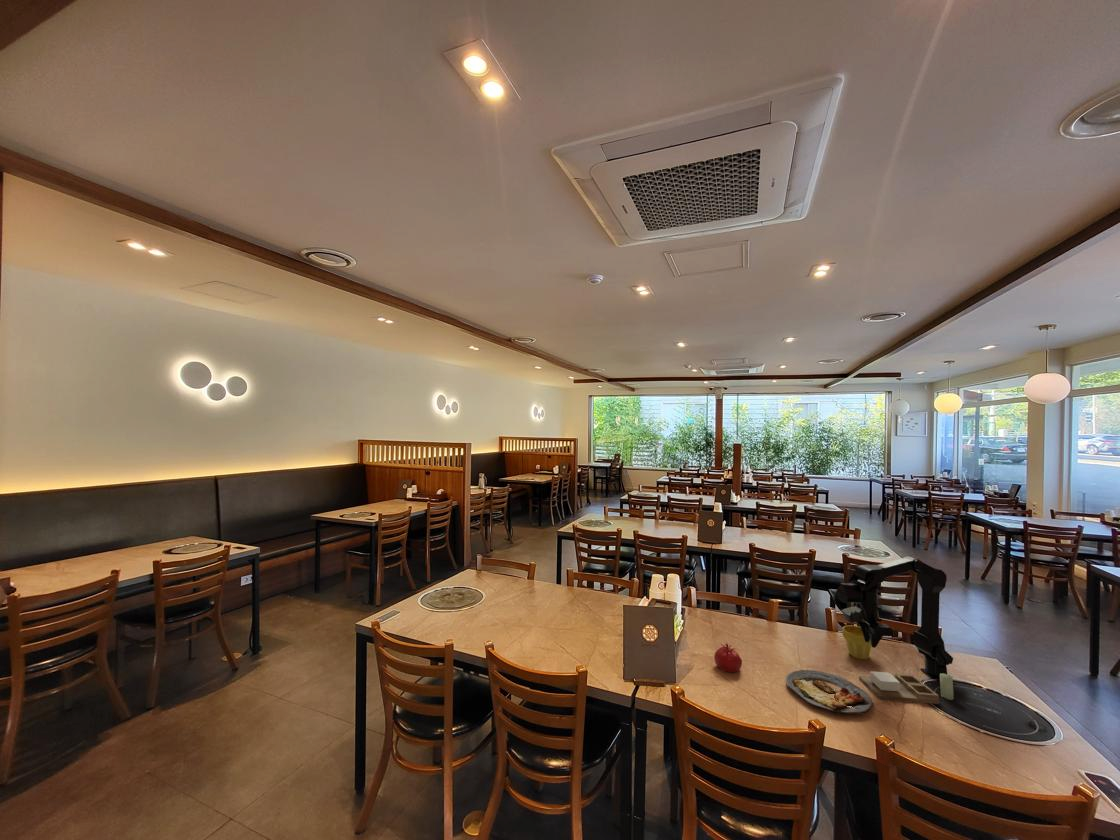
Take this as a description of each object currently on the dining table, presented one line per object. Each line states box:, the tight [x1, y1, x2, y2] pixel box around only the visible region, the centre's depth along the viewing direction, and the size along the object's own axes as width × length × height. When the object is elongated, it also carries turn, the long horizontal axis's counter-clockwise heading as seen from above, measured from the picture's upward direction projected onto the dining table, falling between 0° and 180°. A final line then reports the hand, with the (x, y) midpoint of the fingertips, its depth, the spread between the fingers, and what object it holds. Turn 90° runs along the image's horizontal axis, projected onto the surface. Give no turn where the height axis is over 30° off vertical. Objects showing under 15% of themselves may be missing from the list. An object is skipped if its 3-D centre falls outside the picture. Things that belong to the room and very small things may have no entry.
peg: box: [939, 673, 955, 701], centre depth 141 cm, size 3×3×7 cm
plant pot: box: [842, 624, 872, 660], centre depth 169 cm, size 10×10×10 cm
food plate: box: [785, 669, 874, 714], centre depth 143 cm, size 25×23×4 cm
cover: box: [869, 671, 900, 691], centre depth 145 cm, size 6×6×3 cm
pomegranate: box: [713, 642, 743, 673], centre depth 160 cm, size 10×10×9 cm
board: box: [858, 673, 940, 705], centre depth 144 cm, size 12×18×3 cm, turn 81°
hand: (870, 644), depth 153 cm, fingers open, 4 cm apart
